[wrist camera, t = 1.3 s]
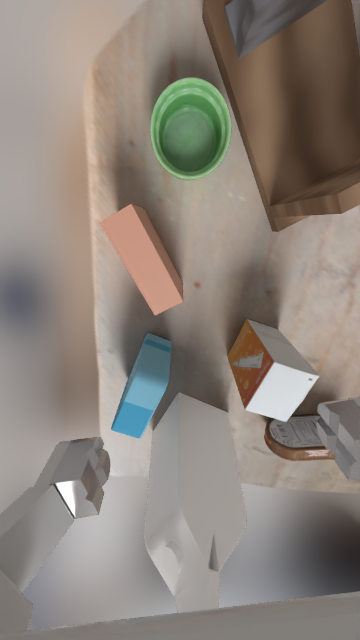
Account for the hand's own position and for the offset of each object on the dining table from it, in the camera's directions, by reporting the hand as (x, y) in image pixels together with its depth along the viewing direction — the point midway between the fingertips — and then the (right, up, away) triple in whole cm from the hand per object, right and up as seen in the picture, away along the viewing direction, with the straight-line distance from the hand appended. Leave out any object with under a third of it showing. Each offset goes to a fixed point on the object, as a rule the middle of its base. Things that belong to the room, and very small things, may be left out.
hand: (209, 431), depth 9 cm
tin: (+23, -16, +39) cm, 48 cm away
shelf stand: (+13, +29, +19) cm, 37 cm away
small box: (+12, 0, +32) cm, 34 cm away
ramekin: (0, +27, +21) cm, 34 cm away
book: (-5, +14, +26) cm, 30 cm away
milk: (+1, -17, +39) cm, 43 cm away
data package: (-7, -3, +33) cm, 34 cm away
